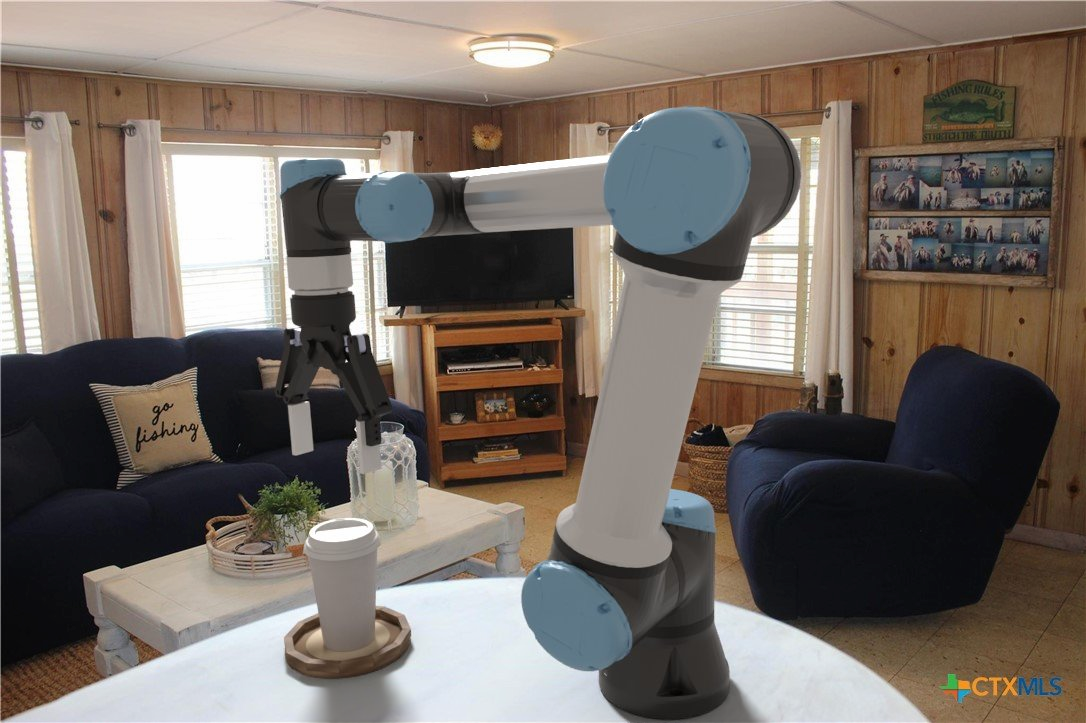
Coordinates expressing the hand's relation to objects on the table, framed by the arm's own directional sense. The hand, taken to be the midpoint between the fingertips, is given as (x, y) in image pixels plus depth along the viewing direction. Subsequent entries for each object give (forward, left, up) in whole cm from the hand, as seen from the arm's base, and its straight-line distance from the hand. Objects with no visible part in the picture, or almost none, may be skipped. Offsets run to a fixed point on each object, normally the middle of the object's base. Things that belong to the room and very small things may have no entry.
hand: (335, 461), depth 111 cm
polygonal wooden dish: (0, 0, -25) cm, 25 cm away
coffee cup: (0, 0, -24) cm, 24 cm away
